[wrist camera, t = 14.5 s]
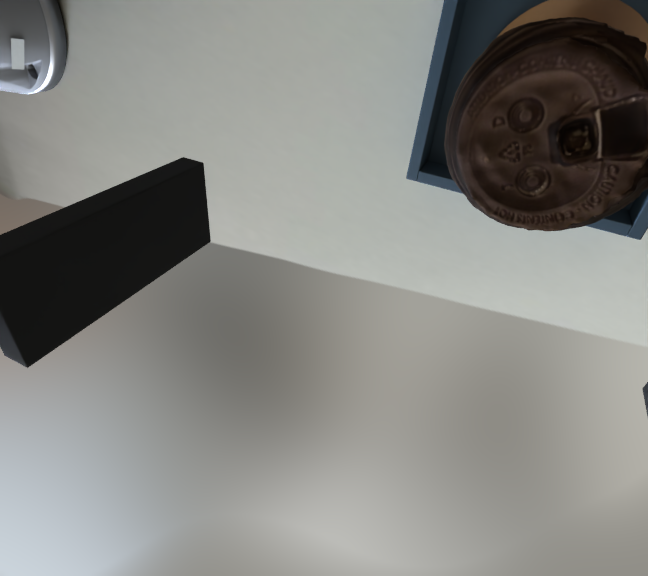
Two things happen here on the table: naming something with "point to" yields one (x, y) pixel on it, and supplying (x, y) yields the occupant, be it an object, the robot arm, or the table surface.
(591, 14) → the coaster
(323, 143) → the table surface
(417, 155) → the tray
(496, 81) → the coffee cup
